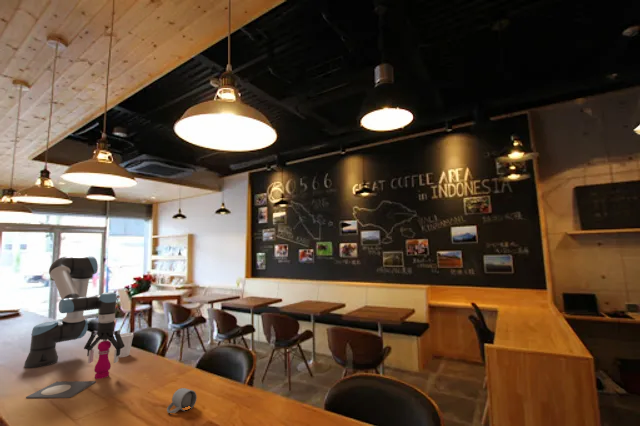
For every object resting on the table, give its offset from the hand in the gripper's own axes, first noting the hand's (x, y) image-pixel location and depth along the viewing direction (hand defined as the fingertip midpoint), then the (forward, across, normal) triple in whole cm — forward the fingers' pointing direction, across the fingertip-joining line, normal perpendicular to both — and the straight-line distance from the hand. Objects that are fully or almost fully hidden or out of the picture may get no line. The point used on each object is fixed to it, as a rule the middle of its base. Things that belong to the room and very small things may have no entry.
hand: (103, 362), depth 168 cm
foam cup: (+7, -9, +34) cm, 36 cm away
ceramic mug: (+8, +57, -36) cm, 68 cm away
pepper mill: (+8, 0, 0) cm, 8 cm away
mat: (+7, -8, -16) cm, 19 cm away
